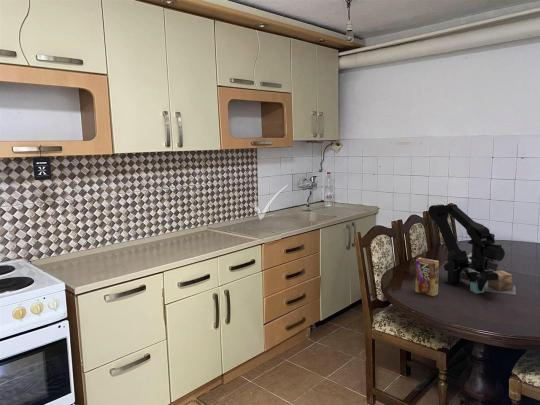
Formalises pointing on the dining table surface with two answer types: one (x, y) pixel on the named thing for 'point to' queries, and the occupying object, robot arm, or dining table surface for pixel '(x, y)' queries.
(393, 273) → the dining table surface
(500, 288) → the walnut base block
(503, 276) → the oak top block
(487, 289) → the grey square tile
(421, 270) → the candy box
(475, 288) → the teal block
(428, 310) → the dining table surface
